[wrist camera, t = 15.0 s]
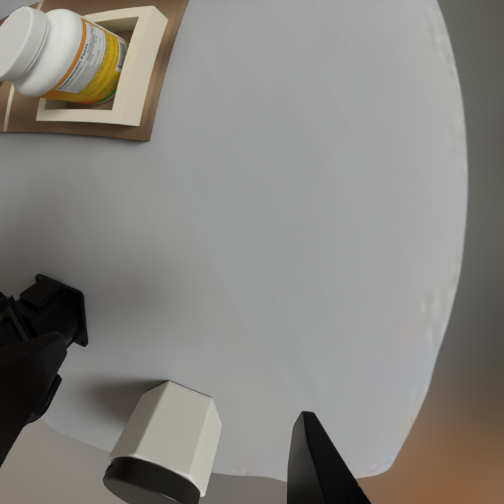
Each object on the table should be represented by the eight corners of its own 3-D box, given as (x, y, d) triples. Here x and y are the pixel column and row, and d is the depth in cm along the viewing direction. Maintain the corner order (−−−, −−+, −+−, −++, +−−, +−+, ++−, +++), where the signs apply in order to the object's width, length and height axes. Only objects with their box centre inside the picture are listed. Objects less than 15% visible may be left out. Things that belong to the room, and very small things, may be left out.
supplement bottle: (67, 81, 16) (-29, 67, 7) (111, 27, 14) (24, -16, 5) (100, 119, 17) (-7, 114, 8) (150, 61, 15) (57, 11, 6)
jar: (134, 376, 26) (81, 465, 15) (208, 381, 25) (172, 491, 13) (162, 429, 29) (129, 508, 17) (228, 435, 27) (207, 526, 16)
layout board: (149, 141, 18) (141, 140, 17) (-43, 133, 19) (-50, 134, 18) (198, -23, 14) (193, -31, 12) (-21, 36, 14) (-27, 35, 13)
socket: (139, 126, 17) (119, 123, 15) (56, 121, 17) (35, 120, 15) (168, 19, 14) (153, 5, 12) (81, 28, 14) (62, 20, 12)
